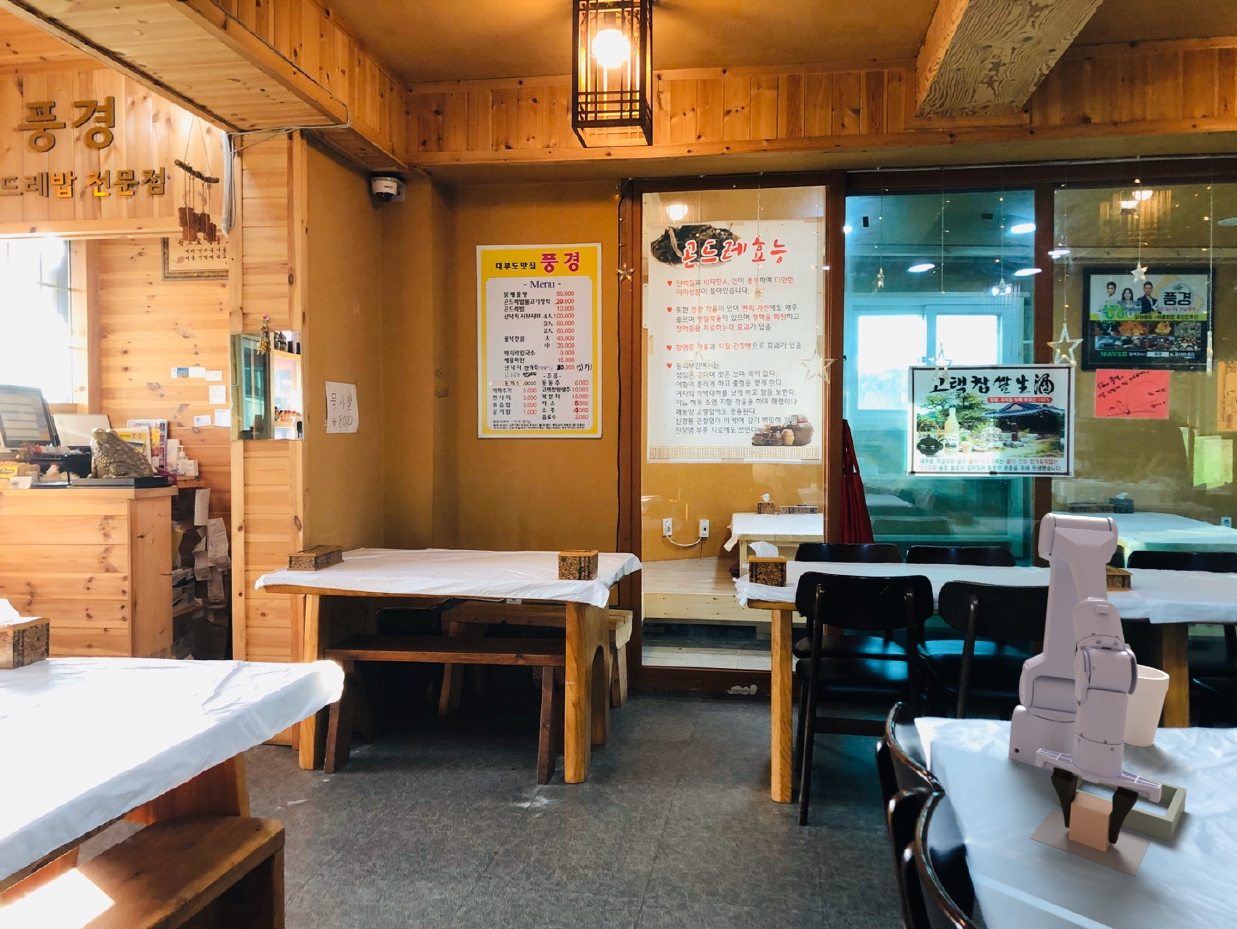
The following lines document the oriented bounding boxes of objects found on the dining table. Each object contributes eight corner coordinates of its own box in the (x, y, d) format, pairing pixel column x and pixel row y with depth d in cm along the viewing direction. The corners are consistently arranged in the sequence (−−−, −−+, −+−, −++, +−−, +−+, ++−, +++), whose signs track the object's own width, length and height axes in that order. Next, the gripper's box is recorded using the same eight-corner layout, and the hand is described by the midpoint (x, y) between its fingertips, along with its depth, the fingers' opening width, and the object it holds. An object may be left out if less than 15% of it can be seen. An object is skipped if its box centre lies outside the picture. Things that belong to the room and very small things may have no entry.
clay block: (1068, 838, 106) (1071, 803, 105) (1076, 827, 109) (1079, 792, 109) (1105, 852, 103) (1108, 815, 102) (1112, 839, 106) (1115, 804, 106)
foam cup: (1154, 734, 147) (1159, 667, 146) (1170, 754, 138) (1177, 682, 137) (1096, 726, 150) (1102, 660, 149) (1109, 744, 141) (1115, 674, 140)
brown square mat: (1029, 843, 106) (1029, 838, 106) (1052, 813, 114) (1053, 808, 114) (1133, 882, 97) (1134, 876, 97) (1150, 846, 106) (1150, 840, 106)
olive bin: (1056, 808, 116) (1058, 785, 116) (1079, 779, 126) (1080, 758, 126) (1170, 846, 106) (1172, 822, 106) (1184, 811, 117) (1186, 789, 116)
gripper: (1032, 727, 107) (1024, 822, 108) (1158, 762, 97) (1149, 867, 98) (1046, 714, 112) (1038, 805, 113) (1167, 746, 102) (1158, 846, 103)
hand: (1091, 833), depth 106 cm, fingers open, 5 cm apart
